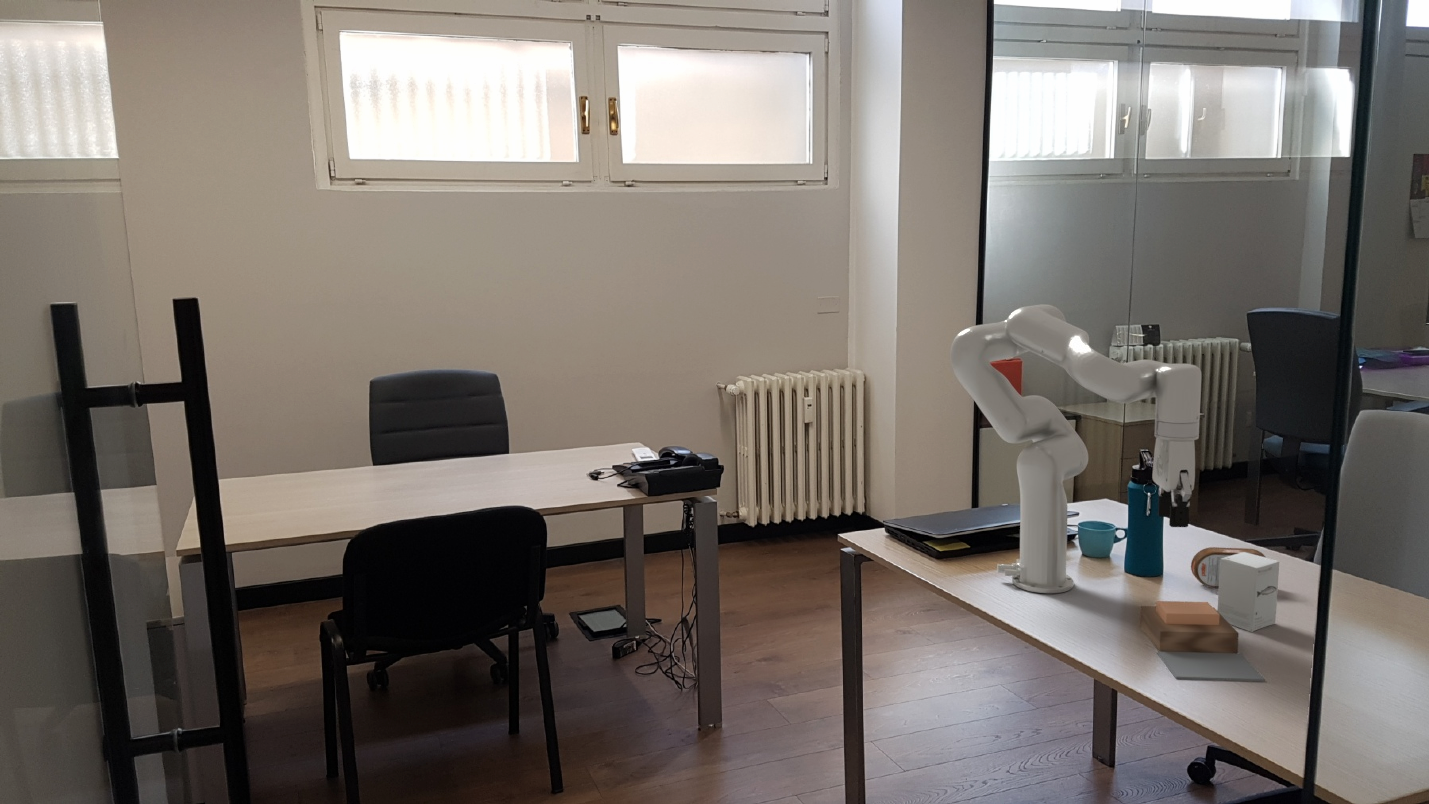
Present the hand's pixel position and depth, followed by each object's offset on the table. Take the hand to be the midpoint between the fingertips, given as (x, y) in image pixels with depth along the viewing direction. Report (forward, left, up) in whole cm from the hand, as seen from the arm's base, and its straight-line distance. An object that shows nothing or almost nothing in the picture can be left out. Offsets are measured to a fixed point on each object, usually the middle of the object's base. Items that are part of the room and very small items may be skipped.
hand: (1172, 520), depth 180 cm
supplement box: (+14, -2, -20) cm, 24 cm away
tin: (+18, +17, -20) cm, 32 cm away
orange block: (0, -10, -16) cm, 19 cm away
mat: (0, -22, -20) cm, 29 cm away
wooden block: (0, -11, -20) cm, 22 cm away
